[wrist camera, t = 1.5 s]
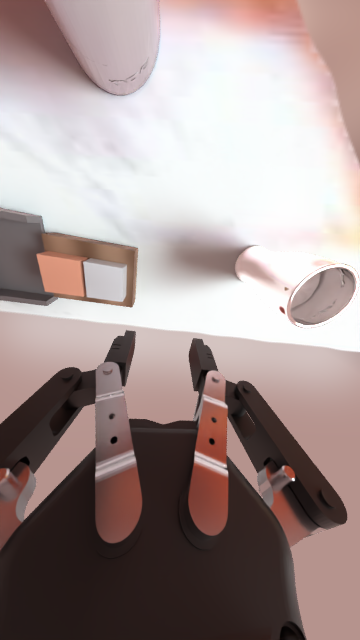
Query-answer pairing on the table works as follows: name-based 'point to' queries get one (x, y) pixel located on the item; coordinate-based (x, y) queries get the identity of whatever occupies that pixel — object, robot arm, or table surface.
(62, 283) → the terracotta tile
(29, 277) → the charcoal tray
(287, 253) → the beer glass
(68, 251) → the walnut board
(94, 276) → the grey tile
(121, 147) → the table surface
